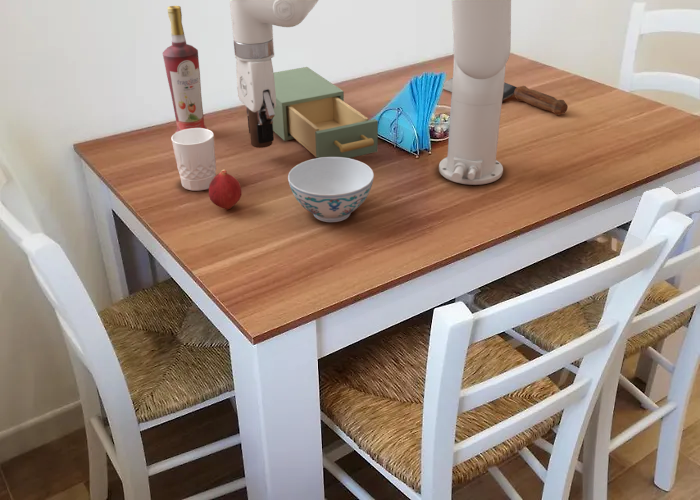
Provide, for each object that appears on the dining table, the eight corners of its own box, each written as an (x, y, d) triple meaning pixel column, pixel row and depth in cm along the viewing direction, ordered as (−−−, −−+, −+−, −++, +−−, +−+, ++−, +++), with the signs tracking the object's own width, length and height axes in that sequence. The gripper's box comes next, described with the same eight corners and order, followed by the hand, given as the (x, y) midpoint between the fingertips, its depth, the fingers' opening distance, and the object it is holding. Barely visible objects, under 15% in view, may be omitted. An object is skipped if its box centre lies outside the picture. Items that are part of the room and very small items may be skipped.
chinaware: (279, 203, 132) (276, 166, 128) (353, 188, 137) (352, 151, 133) (308, 242, 120) (306, 201, 116) (387, 223, 125) (388, 183, 121)
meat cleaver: (436, 86, 185) (437, 71, 182) (468, 77, 190) (469, 62, 188) (535, 127, 162) (538, 110, 159) (568, 115, 167) (571, 99, 165)
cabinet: (344, 128, 162) (343, 91, 157) (284, 141, 156) (281, 102, 152) (308, 101, 177) (307, 66, 172) (252, 112, 171) (249, 76, 167)
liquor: (181, 144, 156) (161, 13, 141) (171, 133, 161) (151, 5, 146) (213, 137, 158) (196, 8, 144) (202, 126, 164) (185, 1, 149)
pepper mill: (267, 148, 144) (263, 106, 139) (247, 146, 145) (243, 104, 140) (275, 140, 147) (272, 99, 142) (256, 138, 148) (252, 96, 144)
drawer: (388, 159, 145) (388, 127, 142) (328, 173, 140) (327, 141, 136) (338, 122, 163) (337, 93, 159) (283, 133, 157) (281, 103, 154)
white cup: (183, 195, 135) (175, 147, 130) (175, 178, 141) (167, 131, 136) (223, 188, 138) (217, 140, 132) (214, 171, 144) (208, 125, 138)
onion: (211, 218, 127) (206, 178, 123) (210, 203, 132) (205, 164, 128) (244, 215, 128) (239, 175, 124) (242, 200, 133) (237, 161, 129)
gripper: (221, 40, 141) (230, 126, 150) (251, 63, 128) (258, 156, 138) (256, 35, 143) (263, 120, 153) (289, 57, 131) (294, 148, 140)
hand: (261, 136), depth 145 cm, fingers closed on pepper mill, 4 cm apart
